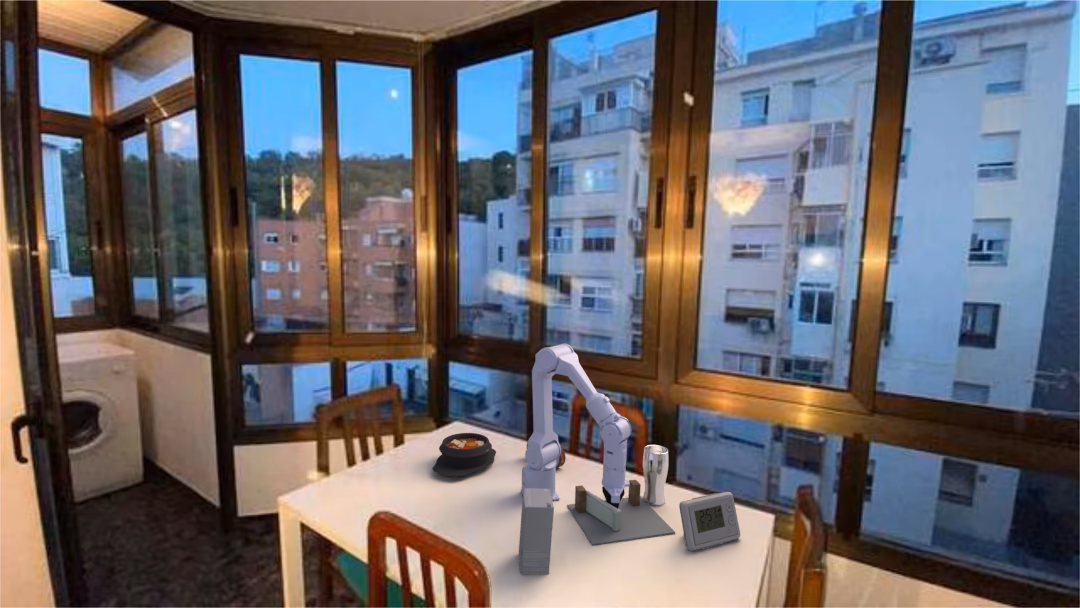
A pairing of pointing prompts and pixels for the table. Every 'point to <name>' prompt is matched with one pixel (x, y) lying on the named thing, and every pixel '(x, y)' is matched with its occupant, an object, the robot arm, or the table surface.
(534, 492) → the skincare box
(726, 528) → the digital clock
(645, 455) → the silver metal tumbler
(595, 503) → the gate
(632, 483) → the gate posts
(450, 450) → the casserole
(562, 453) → the tin
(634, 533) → the yard mat
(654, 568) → the table surface
